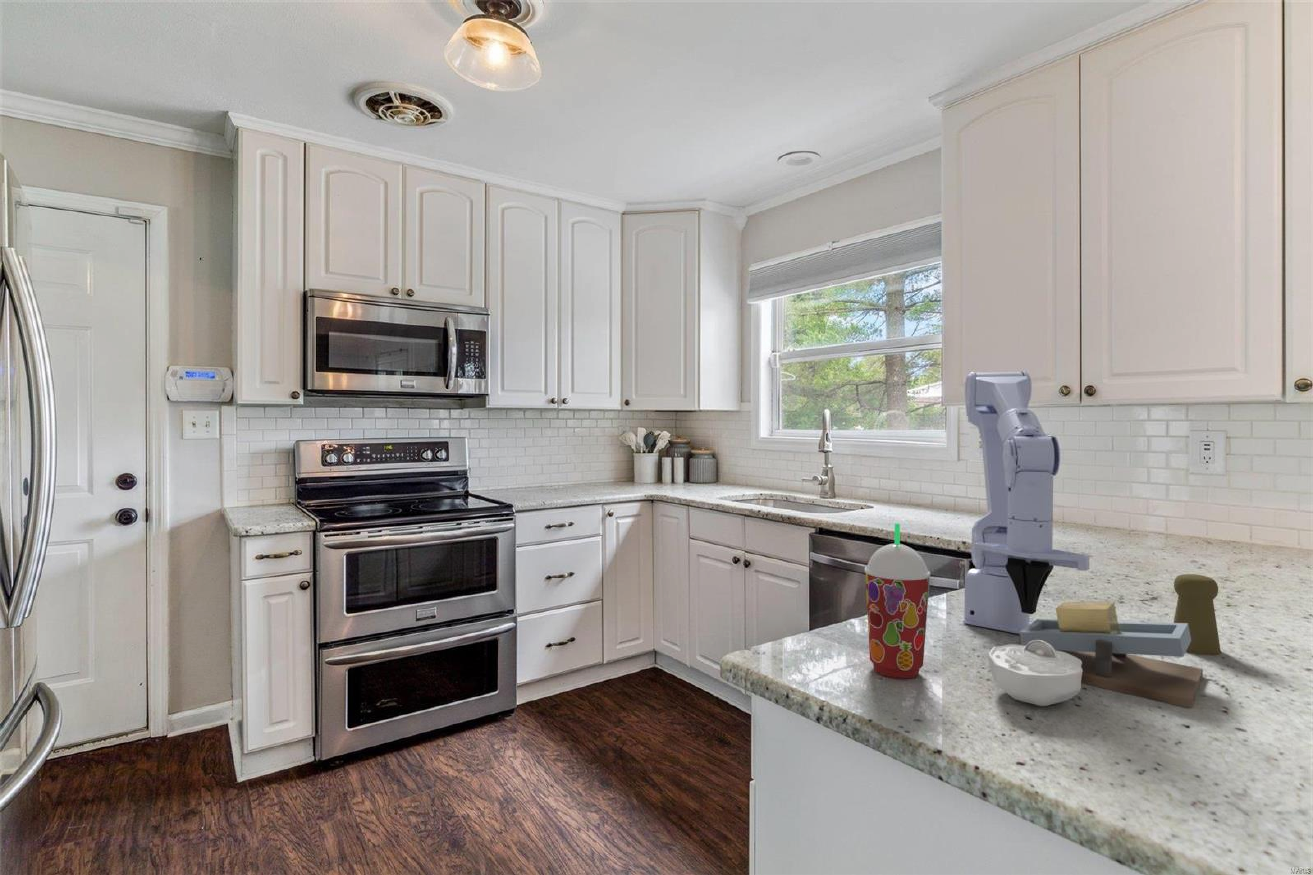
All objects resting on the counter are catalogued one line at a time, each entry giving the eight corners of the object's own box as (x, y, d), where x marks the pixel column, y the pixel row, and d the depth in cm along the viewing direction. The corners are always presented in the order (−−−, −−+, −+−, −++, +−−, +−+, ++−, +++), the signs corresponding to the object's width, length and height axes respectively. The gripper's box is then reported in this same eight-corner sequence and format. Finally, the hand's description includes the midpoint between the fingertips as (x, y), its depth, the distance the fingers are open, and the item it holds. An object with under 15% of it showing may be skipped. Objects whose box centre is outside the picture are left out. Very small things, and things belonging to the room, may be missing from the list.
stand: (1006, 665, 92) (1006, 626, 92) (1034, 642, 102) (1035, 607, 102) (1190, 708, 78) (1191, 662, 78) (1202, 676, 88) (1203, 636, 88)
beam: (1021, 648, 93) (1018, 632, 93) (1040, 633, 99) (1037, 618, 100) (1183, 657, 80) (1179, 639, 80) (1191, 639, 87) (1188, 622, 87)
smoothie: (927, 664, 92) (928, 521, 92) (931, 686, 84) (932, 530, 84) (864, 657, 95) (865, 518, 94) (862, 678, 87) (863, 526, 87)
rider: (1060, 637, 91) (1055, 608, 92) (1069, 630, 95) (1064, 601, 95) (1112, 640, 87) (1106, 609, 87) (1119, 631, 91) (1114, 602, 91)
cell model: (968, 697, 81) (969, 642, 81) (1014, 675, 88) (1014, 625, 88) (1058, 728, 73) (1059, 666, 73) (1100, 701, 80) (1101, 645, 80)
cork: (1231, 656, 96) (1232, 580, 96) (1183, 653, 97) (1184, 578, 97) (1205, 643, 102) (1206, 571, 102) (1161, 640, 103) (1162, 570, 103)
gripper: (967, 516, 98) (966, 607, 98) (1081, 527, 88) (1080, 628, 88) (983, 512, 103) (982, 599, 103) (1093, 521, 93) (1092, 618, 93)
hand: (1028, 612), depth 96 cm, fingers closed
